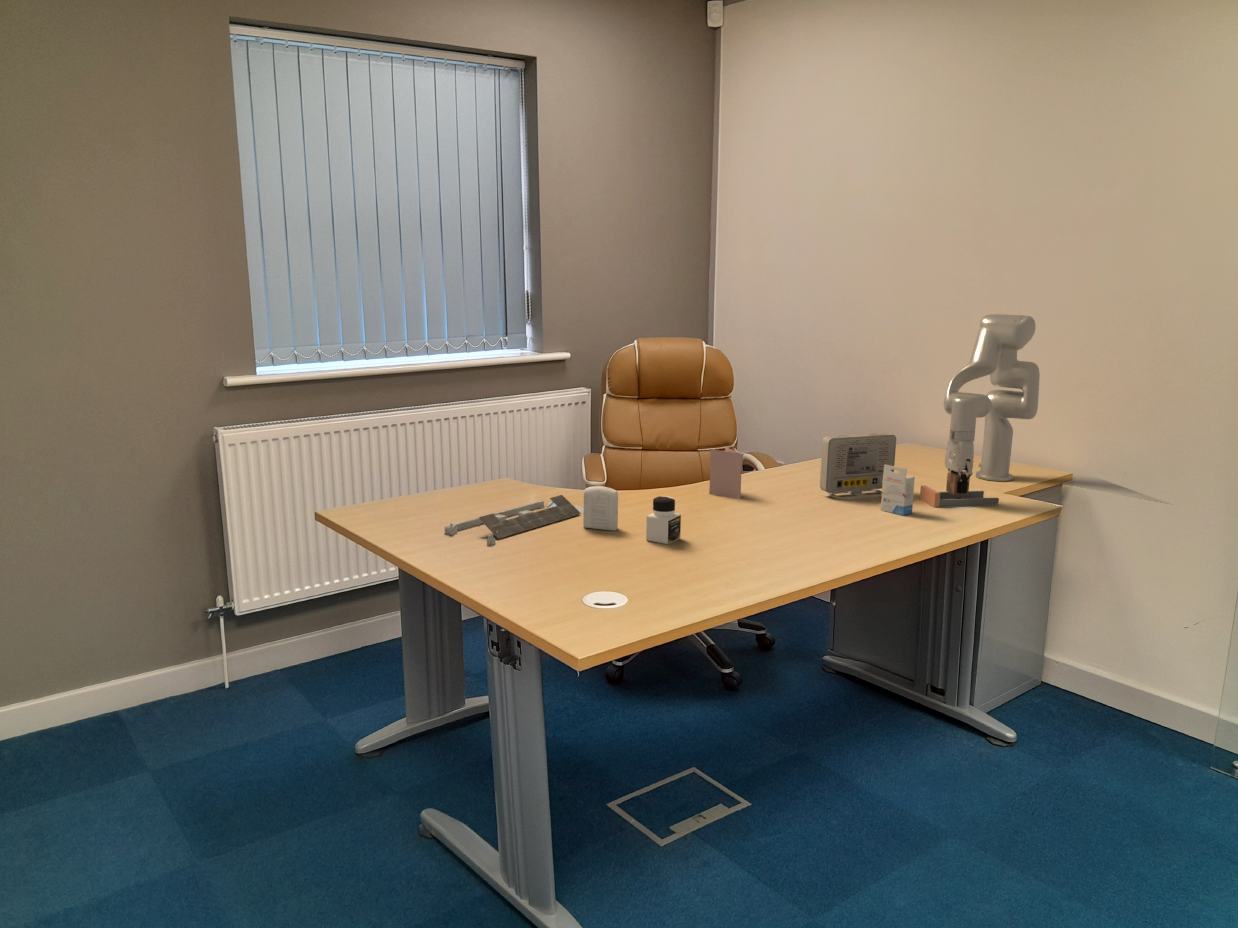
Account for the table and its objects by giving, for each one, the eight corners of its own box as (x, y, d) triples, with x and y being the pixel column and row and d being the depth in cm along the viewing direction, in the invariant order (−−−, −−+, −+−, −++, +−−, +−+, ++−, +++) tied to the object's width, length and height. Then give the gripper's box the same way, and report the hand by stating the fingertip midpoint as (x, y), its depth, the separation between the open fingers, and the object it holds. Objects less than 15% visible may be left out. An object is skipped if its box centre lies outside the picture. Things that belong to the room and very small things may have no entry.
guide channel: (919, 498, 301) (920, 485, 300) (981, 497, 304) (983, 483, 303) (934, 507, 291) (935, 493, 290) (998, 505, 294) (999, 491, 293)
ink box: (912, 513, 284) (916, 466, 281) (903, 516, 281) (907, 468, 278) (889, 507, 290) (892, 462, 287) (879, 510, 287) (883, 464, 284)
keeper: (946, 490, 299) (947, 472, 298) (960, 490, 300) (962, 472, 298) (953, 494, 294) (955, 476, 293) (968, 494, 295) (969, 475, 294)
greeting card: (742, 498, 301) (744, 453, 297) (722, 500, 298) (724, 455, 295) (726, 490, 311) (727, 446, 308) (706, 492, 308) (707, 448, 305)
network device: (882, 488, 314) (886, 431, 310) (897, 495, 306) (901, 435, 302) (815, 494, 306) (819, 435, 302) (829, 500, 298) (833, 440, 294)
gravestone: (619, 527, 267) (620, 486, 264) (615, 531, 263) (615, 489, 260) (586, 524, 270) (586, 483, 267) (581, 528, 266) (581, 486, 263)
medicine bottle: (668, 544, 251) (669, 502, 249) (645, 540, 255) (646, 498, 252) (680, 538, 257) (681, 496, 254) (658, 534, 261) (659, 493, 258)
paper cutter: (444, 534, 261) (444, 515, 260) (554, 503, 294) (554, 487, 293) (488, 547, 249) (487, 527, 248) (597, 513, 283) (597, 496, 282)
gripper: (938, 430, 301) (933, 485, 305) (964, 440, 284) (959, 498, 288) (959, 430, 302) (955, 484, 306) (987, 440, 285) (981, 497, 289)
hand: (957, 490), depth 297 cm, fingers closed on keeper, 5 cm apart
